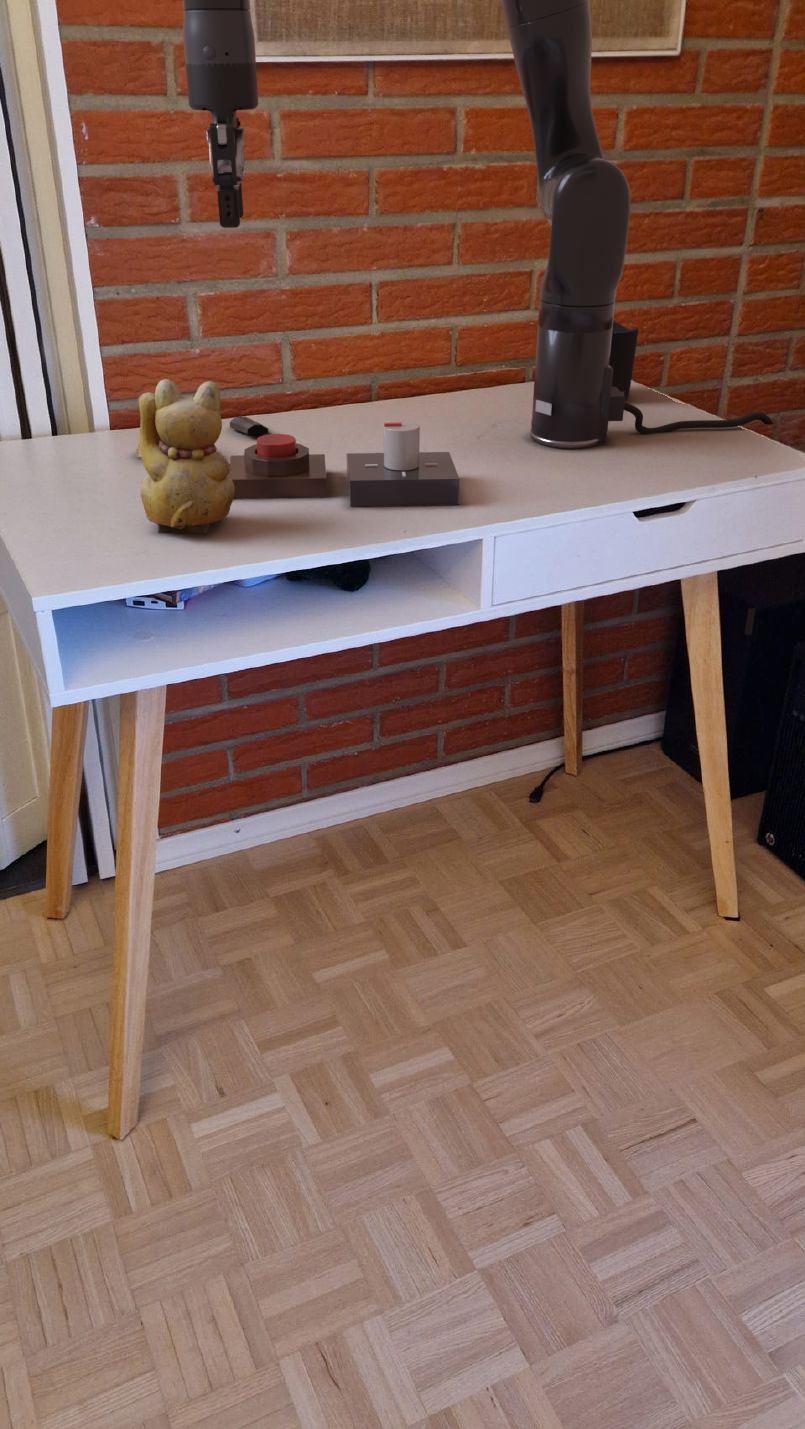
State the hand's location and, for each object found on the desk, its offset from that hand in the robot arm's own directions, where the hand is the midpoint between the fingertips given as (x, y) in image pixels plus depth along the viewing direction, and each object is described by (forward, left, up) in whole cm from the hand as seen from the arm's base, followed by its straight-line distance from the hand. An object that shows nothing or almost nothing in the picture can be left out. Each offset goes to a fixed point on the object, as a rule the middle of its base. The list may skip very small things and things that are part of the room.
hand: (232, 222), depth 134 cm
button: (-4, +14, -23) cm, 27 cm away
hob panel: (-18, +17, -27) cm, 36 cm away
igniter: (-4, +14, -27) cm, 30 cm away
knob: (-18, +17, -23) cm, 34 cm away
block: (0, -8, -27) cm, 28 cm away
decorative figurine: (+5, +27, -27) cm, 38 cm away
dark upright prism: (-50, -24, -27) cm, 62 cm away
